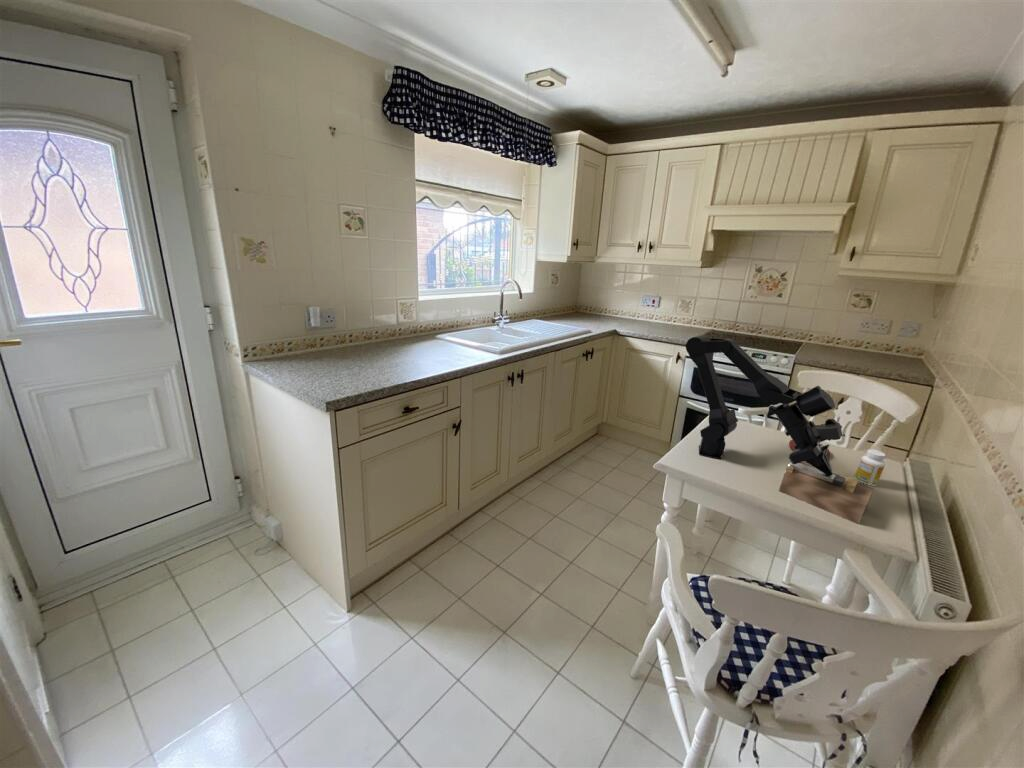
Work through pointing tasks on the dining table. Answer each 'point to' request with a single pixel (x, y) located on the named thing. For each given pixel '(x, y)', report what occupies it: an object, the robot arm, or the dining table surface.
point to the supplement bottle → (870, 467)
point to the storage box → (828, 493)
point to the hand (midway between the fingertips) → (830, 475)
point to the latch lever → (817, 473)
